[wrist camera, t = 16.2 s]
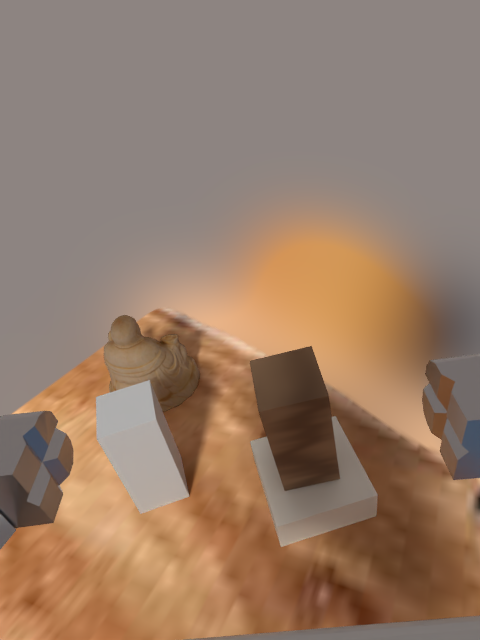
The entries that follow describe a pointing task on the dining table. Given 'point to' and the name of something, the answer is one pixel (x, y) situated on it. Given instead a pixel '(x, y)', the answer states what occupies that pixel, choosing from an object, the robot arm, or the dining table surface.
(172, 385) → the statue
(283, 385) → the walnut block
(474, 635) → the robot arm
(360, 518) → the cream base
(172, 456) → the grey block
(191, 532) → the dining table surface
